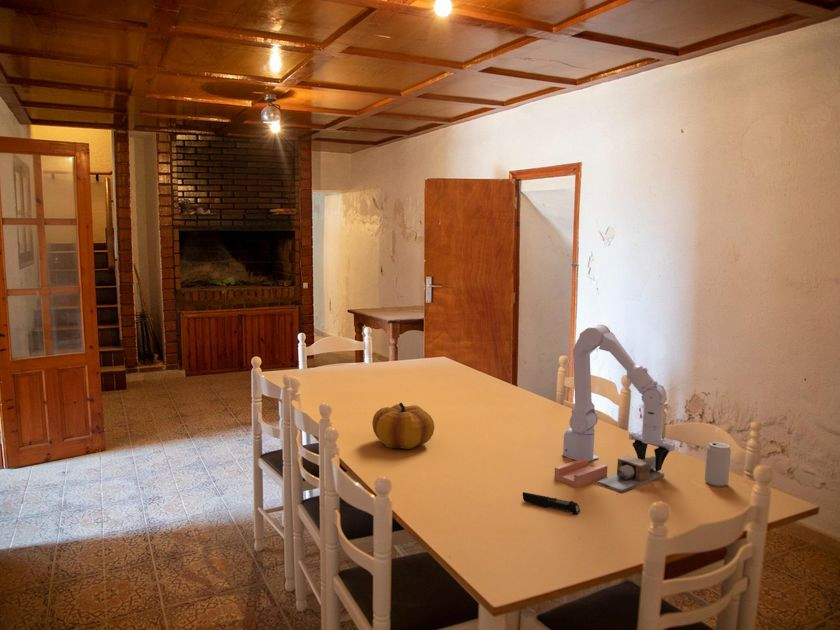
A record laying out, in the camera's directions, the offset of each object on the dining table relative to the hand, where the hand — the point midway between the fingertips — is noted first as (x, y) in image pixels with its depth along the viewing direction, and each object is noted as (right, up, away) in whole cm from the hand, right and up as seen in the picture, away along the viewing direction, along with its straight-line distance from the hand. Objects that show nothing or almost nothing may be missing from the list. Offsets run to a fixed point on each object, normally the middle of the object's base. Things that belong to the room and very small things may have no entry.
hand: (649, 467), depth 199 cm
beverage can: (+17, -3, -8) cm, 19 cm away
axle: (-5, +1, -4) cm, 6 cm away
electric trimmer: (-36, -5, -27) cm, 45 cm away
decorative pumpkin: (-77, +2, +24) cm, 81 cm away
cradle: (-23, -2, -5) cm, 23 cm away
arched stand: (-7, -2, -5) cm, 9 cm away
